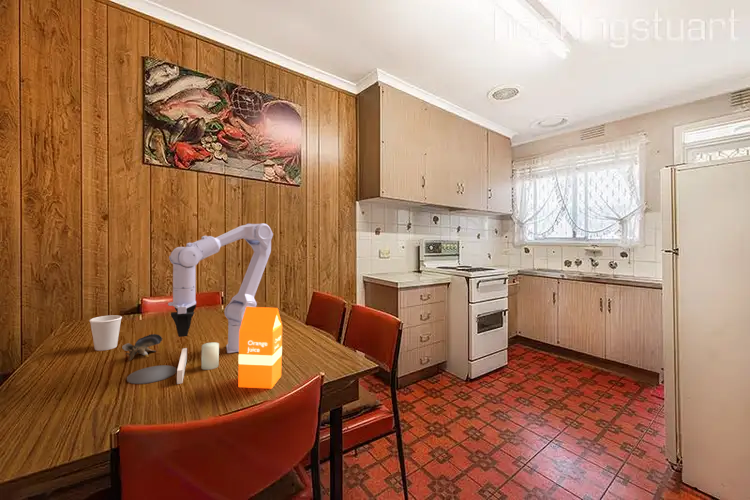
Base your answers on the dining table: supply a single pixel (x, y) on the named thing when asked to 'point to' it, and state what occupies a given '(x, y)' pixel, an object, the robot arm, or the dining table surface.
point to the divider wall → (181, 366)
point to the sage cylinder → (210, 356)
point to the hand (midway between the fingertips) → (184, 332)
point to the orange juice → (260, 348)
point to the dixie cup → (105, 331)
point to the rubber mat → (151, 374)
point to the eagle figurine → (142, 345)
